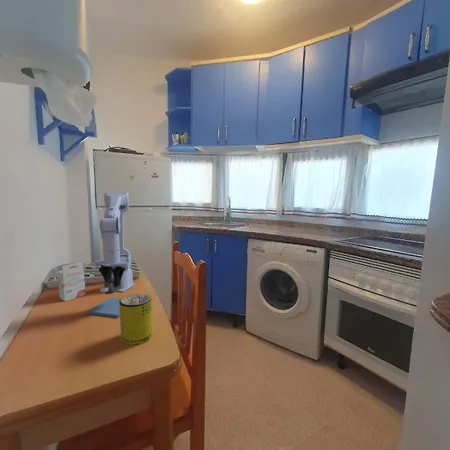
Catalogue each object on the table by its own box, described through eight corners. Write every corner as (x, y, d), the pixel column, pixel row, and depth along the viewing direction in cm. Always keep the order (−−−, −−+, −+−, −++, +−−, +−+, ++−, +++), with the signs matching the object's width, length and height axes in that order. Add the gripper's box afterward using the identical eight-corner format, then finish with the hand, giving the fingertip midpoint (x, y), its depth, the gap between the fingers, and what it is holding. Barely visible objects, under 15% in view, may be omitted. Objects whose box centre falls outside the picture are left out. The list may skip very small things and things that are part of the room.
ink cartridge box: (80, 292, 116) (78, 260, 115) (85, 295, 113) (83, 261, 112) (59, 298, 110) (56, 264, 108) (64, 301, 107) (61, 266, 105)
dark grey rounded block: (115, 286, 104) (115, 276, 103) (123, 287, 103) (122, 277, 103) (99, 295, 95) (98, 284, 94) (106, 296, 94) (106, 285, 94)
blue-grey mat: (110, 299, 109) (110, 297, 109) (139, 303, 105) (138, 300, 105) (87, 313, 96) (87, 310, 96) (118, 317, 93) (118, 315, 93)
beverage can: (151, 327, 86) (150, 292, 85) (153, 342, 78) (152, 302, 76) (121, 332, 83) (119, 295, 82) (120, 347, 75) (118, 307, 73)
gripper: (87, 251, 96) (89, 287, 98) (121, 253, 93) (123, 290, 94) (100, 247, 103) (102, 281, 105) (133, 249, 99) (134, 284, 101)
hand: (113, 285), depth 100 cm, fingers closed on dark grey rounded block, 3 cm apart
